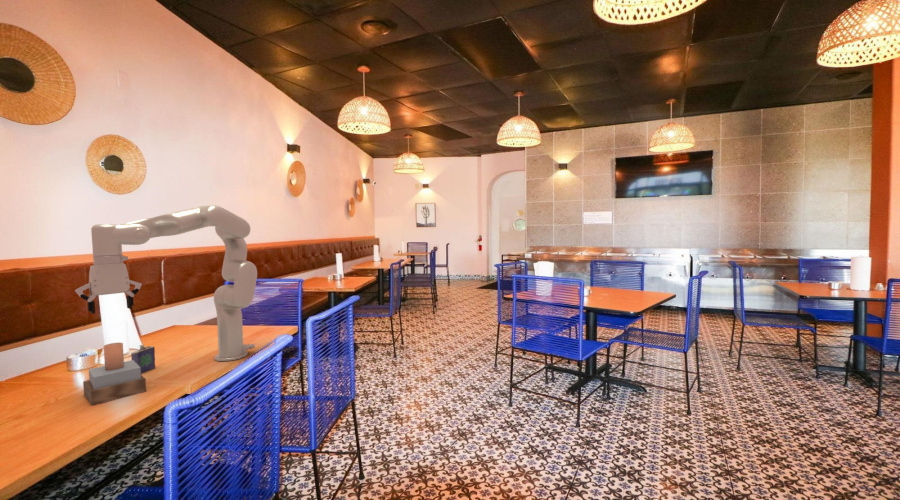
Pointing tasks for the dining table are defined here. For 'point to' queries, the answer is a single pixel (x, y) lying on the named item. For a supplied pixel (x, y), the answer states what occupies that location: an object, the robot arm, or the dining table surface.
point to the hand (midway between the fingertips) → (111, 310)
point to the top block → (114, 375)
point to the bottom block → (113, 391)
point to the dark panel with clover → (144, 358)
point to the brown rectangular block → (113, 356)
